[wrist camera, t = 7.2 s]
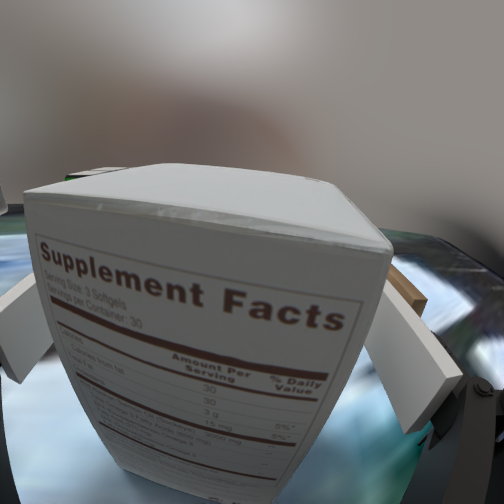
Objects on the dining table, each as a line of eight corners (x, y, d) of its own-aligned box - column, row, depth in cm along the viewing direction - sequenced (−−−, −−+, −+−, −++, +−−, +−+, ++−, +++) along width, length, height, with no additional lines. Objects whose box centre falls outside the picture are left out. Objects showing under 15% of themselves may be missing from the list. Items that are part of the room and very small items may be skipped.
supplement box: (169, 377, 15) (163, 160, 11) (287, 405, 14) (343, 182, 10) (114, 468, 9) (14, 185, 4) (267, 516, 8) (414, 237, 3)
